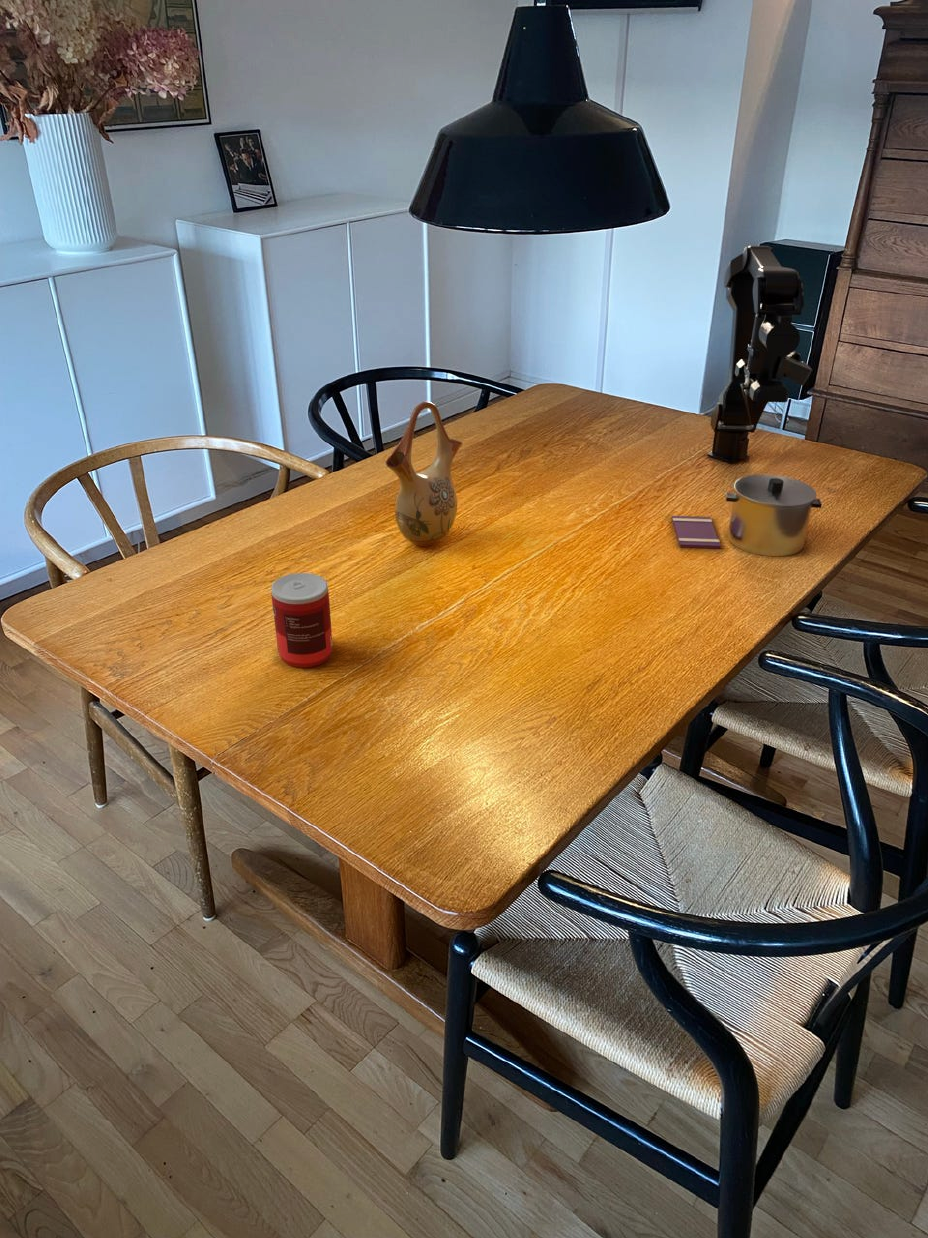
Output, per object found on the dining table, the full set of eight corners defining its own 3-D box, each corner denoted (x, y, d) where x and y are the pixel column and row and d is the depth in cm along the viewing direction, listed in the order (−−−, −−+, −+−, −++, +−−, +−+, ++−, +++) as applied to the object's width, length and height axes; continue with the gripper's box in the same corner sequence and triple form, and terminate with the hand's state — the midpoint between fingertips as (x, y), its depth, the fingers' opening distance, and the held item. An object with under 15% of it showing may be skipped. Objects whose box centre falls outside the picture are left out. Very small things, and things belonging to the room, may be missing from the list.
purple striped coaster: (671, 518, 172) (671, 515, 171) (709, 519, 171) (710, 516, 171) (679, 547, 161) (680, 543, 161) (720, 548, 161) (721, 545, 161)
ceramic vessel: (410, 564, 155) (406, 419, 142) (375, 547, 161) (367, 406, 148) (477, 534, 165) (479, 396, 153) (442, 519, 171) (440, 385, 158)
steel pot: (717, 520, 171) (726, 463, 165) (805, 526, 169) (818, 469, 163) (722, 553, 159) (732, 492, 154) (817, 560, 157) (831, 499, 152)
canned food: (307, 633, 136) (300, 566, 131) (345, 652, 132) (340, 584, 126) (266, 655, 131) (258, 587, 126) (305, 675, 127) (298, 605, 121)
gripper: (825, 356, 161) (808, 442, 169) (799, 330, 177) (785, 410, 185) (760, 355, 162) (746, 440, 170) (740, 329, 178) (728, 408, 186)
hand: (753, 424), depth 178 cm, fingers closed
